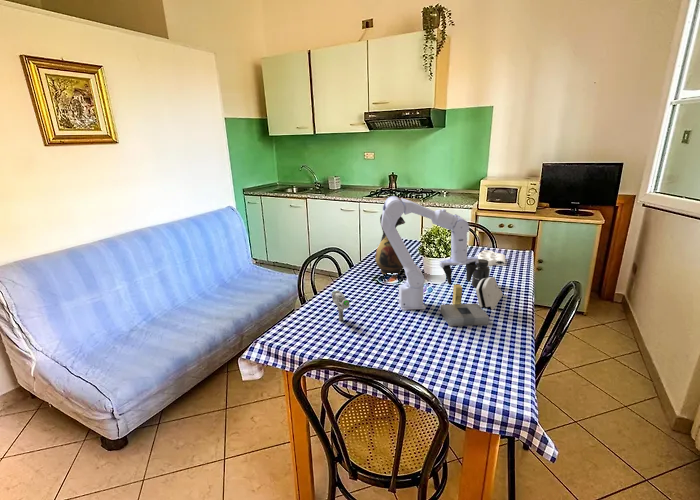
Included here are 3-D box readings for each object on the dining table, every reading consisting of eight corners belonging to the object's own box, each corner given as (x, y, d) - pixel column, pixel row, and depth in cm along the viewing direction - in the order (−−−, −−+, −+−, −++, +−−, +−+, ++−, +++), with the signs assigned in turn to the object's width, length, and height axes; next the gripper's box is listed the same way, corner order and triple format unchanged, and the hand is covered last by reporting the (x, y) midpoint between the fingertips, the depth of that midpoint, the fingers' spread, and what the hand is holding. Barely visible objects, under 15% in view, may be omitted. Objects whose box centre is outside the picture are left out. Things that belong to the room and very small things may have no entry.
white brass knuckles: (504, 268, 182) (473, 265, 188) (505, 257, 198) (476, 255, 204) (505, 262, 181) (474, 259, 187) (505, 251, 197) (477, 249, 203)
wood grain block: (454, 306, 143) (456, 287, 141) (452, 303, 146) (453, 284, 144) (460, 306, 143) (462, 287, 141) (458, 302, 146) (459, 284, 144)
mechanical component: (343, 327, 130) (343, 301, 127) (331, 315, 138) (330, 291, 135) (351, 325, 131) (350, 299, 128) (338, 313, 140) (337, 289, 136)
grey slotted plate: (449, 326, 129) (449, 318, 128) (440, 311, 139) (440, 304, 138) (488, 324, 129) (489, 317, 128) (476, 310, 140) (477, 303, 139)
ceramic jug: (411, 270, 182) (413, 210, 173) (398, 280, 170) (400, 217, 161) (381, 264, 191) (382, 207, 182) (366, 273, 178) (366, 213, 169)
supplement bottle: (471, 288, 160) (473, 262, 156) (472, 282, 166) (474, 257, 162) (487, 290, 157) (490, 264, 154) (488, 284, 163) (491, 259, 160)
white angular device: (492, 310, 140) (485, 285, 139) (480, 311, 143) (473, 287, 142) (503, 294, 153) (497, 272, 152) (491, 295, 156) (485, 273, 155)
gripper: (444, 254, 133) (444, 288, 138) (482, 249, 135) (481, 283, 139) (437, 248, 140) (438, 281, 144) (474, 244, 141) (473, 276, 145)
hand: (459, 282), depth 142 cm, fingers open, 7 cm apart
